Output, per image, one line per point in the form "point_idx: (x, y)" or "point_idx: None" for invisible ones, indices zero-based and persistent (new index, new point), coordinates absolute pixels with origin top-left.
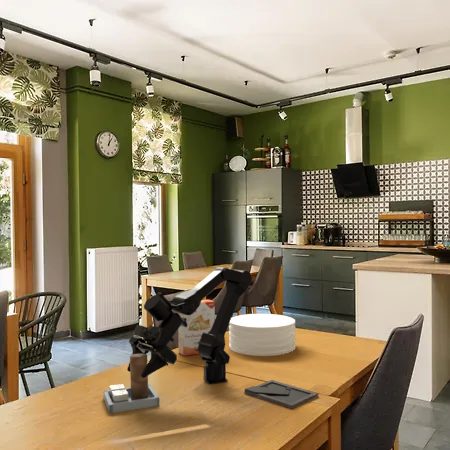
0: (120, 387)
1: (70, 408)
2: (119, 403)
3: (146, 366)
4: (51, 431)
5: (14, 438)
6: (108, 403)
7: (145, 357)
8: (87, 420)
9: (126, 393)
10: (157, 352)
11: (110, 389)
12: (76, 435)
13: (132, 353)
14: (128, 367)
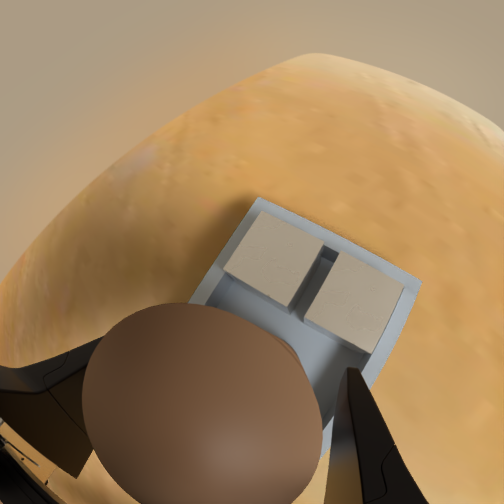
0: (334, 306)
1: (418, 182)
2: (236, 230)
3: (91, 355)
4: (305, 94)
5: (328, 61)
6: (278, 206)
7: (92, 419)
8: (294, 161)
9: (235, 266)
10: (26, 480)
11: (368, 267)
12: (238, 113)
13: (418, 492)
14: (353, 379)
